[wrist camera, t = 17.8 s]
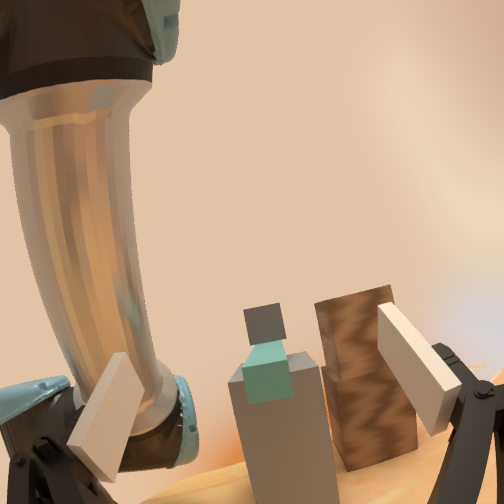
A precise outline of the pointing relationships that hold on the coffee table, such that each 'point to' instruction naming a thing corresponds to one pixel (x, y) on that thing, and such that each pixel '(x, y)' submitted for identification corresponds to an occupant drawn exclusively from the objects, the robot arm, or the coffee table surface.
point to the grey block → (288, 439)
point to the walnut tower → (362, 382)
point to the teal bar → (266, 356)
